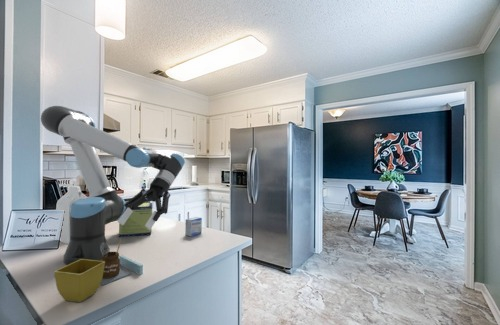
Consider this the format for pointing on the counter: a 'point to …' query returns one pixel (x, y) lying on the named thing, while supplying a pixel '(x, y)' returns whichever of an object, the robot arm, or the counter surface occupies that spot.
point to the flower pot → (79, 279)
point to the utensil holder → (111, 263)
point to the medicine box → (193, 226)
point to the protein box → (137, 222)
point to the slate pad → (119, 276)
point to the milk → (68, 209)
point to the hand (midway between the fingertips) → (133, 225)
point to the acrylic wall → (131, 264)
